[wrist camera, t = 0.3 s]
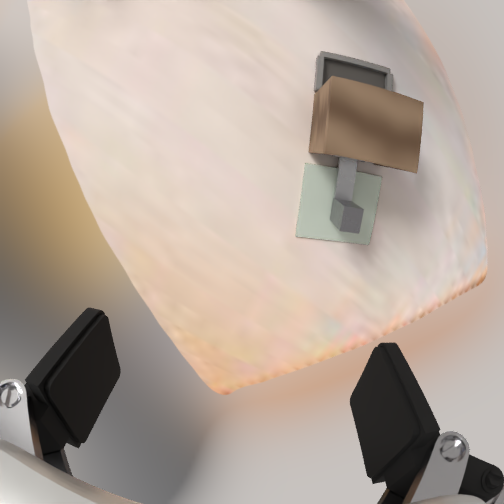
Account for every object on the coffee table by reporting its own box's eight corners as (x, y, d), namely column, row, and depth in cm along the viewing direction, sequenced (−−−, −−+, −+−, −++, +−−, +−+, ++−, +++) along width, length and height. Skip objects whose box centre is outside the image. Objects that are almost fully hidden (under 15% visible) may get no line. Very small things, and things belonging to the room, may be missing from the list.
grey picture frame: (316, 53, 28) (318, 50, 27) (389, 71, 28) (392, 69, 27) (313, 90, 31) (315, 89, 29) (387, 107, 30) (391, 106, 29)
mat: (305, 163, 34) (305, 163, 34) (381, 176, 34) (382, 176, 34) (295, 235, 38) (295, 236, 38) (368, 244, 38) (369, 245, 37)
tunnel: (314, 94, 31) (332, 75, 21) (386, 111, 31) (423, 102, 21) (308, 152, 34) (324, 153, 24) (381, 165, 34) (416, 173, 24)
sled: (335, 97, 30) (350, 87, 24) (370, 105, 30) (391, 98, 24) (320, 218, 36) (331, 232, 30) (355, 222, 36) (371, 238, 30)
